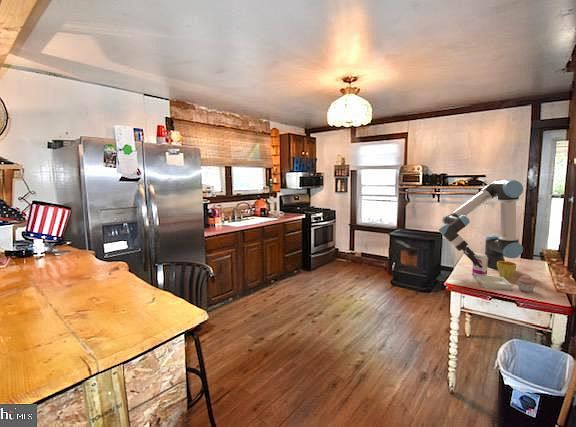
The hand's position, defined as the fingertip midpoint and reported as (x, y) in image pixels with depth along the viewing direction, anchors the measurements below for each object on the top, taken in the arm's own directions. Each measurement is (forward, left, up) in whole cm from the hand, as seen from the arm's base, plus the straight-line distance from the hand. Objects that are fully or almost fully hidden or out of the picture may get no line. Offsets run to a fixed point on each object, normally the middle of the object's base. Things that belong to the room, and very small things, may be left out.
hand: (485, 269), depth 195 cm
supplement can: (-1, -3, -6) cm, 7 cm away
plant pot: (-4, +13, -6) cm, 15 cm away
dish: (+13, +1, -6) cm, 14 cm away
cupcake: (+19, +15, -6) cm, 25 cm away
